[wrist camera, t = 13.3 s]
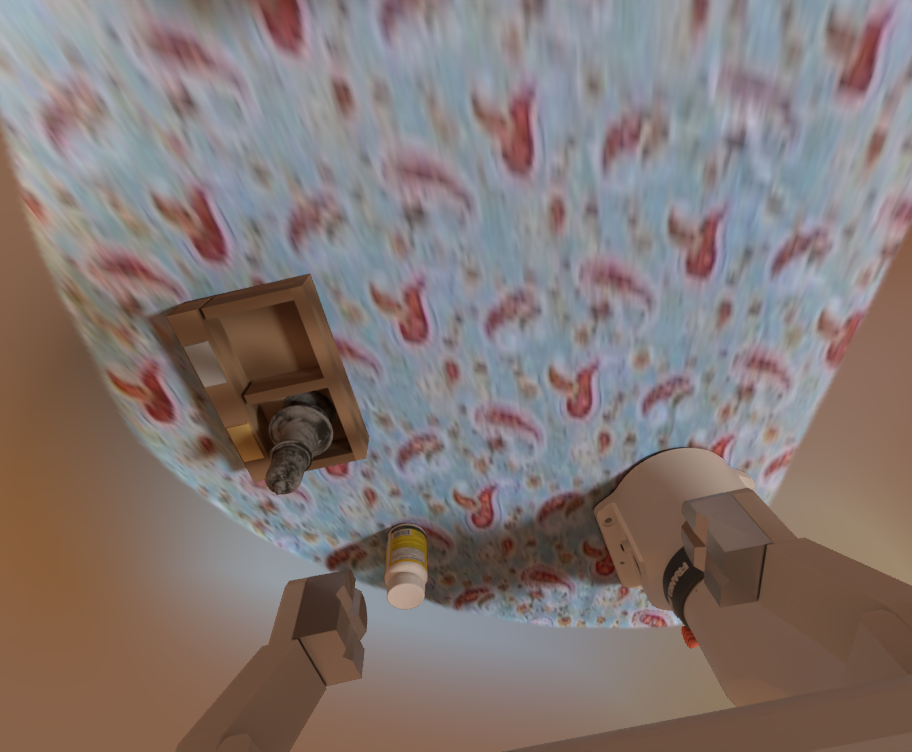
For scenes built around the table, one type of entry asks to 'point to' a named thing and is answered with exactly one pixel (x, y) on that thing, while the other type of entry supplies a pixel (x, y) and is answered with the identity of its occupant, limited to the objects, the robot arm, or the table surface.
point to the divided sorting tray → (269, 365)
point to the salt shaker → (298, 438)
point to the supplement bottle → (406, 566)
